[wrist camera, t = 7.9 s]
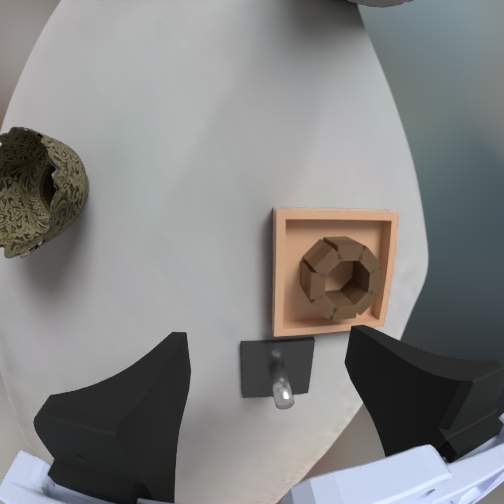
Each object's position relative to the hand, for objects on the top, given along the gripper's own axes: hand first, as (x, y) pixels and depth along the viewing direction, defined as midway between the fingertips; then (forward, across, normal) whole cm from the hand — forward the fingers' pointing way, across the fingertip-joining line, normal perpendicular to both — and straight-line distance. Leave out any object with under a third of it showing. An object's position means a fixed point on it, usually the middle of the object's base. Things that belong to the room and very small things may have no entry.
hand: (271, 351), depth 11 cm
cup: (+10, +14, -7) cm, 19 cm away
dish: (+10, -6, -1) cm, 11 cm away
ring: (+9, -6, -1) cm, 11 cm away
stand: (+10, -2, +8) cm, 13 cm away
